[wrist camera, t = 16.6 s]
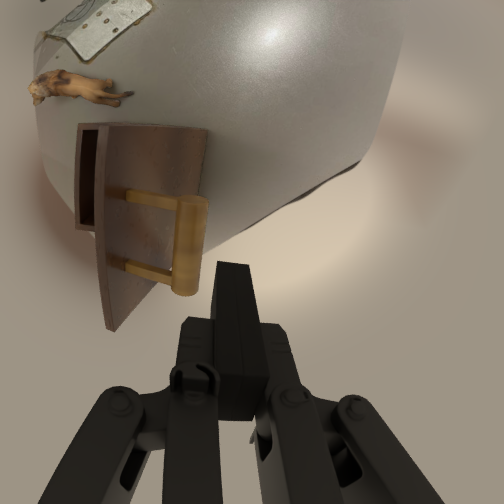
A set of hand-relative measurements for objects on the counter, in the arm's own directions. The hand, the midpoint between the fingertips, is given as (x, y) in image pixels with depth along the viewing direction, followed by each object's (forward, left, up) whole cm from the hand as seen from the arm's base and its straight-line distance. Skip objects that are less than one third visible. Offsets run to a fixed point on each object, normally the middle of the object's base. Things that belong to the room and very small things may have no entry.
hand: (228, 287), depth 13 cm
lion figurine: (-23, +12, -28) cm, 38 cm away
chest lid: (-6, 0, -11) cm, 12 cm away
